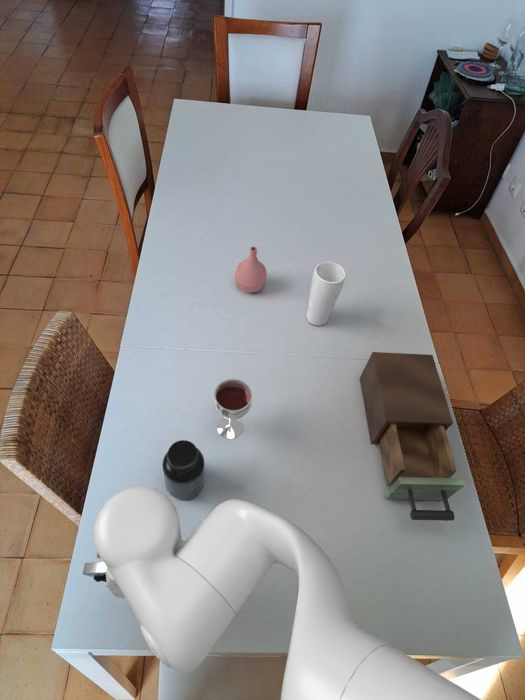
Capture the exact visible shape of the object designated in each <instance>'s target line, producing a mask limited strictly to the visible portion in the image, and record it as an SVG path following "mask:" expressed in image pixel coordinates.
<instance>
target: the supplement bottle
mask: <svg viewBox="0 0 525 700" xmlns="http://www.w3.org/2000/svg"><path fill="white" fill-rule="evenodd" d="M205 470H206V469H205V457H204V454H203V453H202V451H201V450H200V449H199V448H197V446H196V445H195V444H194V443H193V442H192V441H190V440H185V439H180V440H177V441H175V442H174V443H172V444H171V445H170V446H169V448H168V451H167V452H166V453H165V455H164V457H163V460H162V473H163V479H164V483H165V488H166V491H168V493H169V494H170V495H171V497H173V498H175V499H177V500H182V501H186V500H191V499H193V498H195V497H196V496H198V495H199V494H200V493H201V491H202V490H203V488H204V485H205V477H206V476H205V475H206V474H205V473H206V472H205Z"/></svg>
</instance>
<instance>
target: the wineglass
mask: <svg viewBox="0 0 525 700" xmlns="http://www.w3.org/2000/svg"><path fill="white" fill-rule="evenodd" d="M213 396H214V397H213V407H214V409H215V410H216V413H218V415H220V416H221V417H222V418H220V419H219V421H218V423H217V425H216V426H217V428H216V429H217V432H218V433H219V435H220V436H222V437H223V438H225V439H231V440H232V439H235V438H237V437H239V436H240V435H241V434H242V433H243V430H244V429H243V428H244V425H243V422H242V421H241V418H243V417H244V416H246V414H248V412H249V411H250V409H251V407H252V401H253V392H252V389H251V387H250V386H249V385H248V384H247V382H245V381H243V380H241V379H238V378H228V379H225V380H223V381H220V383H219V384H217V385H216V388H214V393H213Z"/></svg>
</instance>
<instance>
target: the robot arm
mask: <svg viewBox="0 0 525 700" xmlns="http://www.w3.org/2000/svg"><path fill="white" fill-rule="evenodd" d="M180 523H181V522H180V516H179V513H178V510H177V507H176V505H175V504H174V502H173V500H172V499H171V497H169V496H168V495H167V494H166V493H164V491H162V490H160V489H158V488H156V487H154V486H153V487H152V486H148V485H135V486H130V487H127V488H124V489H122V490H120V491H118V492H117V493H115V494H113V495H112V496H111V497H110V498H109V499H108V500H106V502H105V503H104V504H103V506H102V507H101V508H100V510H99V512H98V514H97V516H96V519H95V522H94V526H93V543H94V547H95V550H96V559H100V560H102V561H94V562H93V561H92V562H85V563H84V565H83V570H82V575H83V576H87V577H91V578H93V580H94V581H95V582H97V583H99V582H104V583H106V588H107V589H108V591H109V592H110V594H111V595H113V596H114V597H115V598H121V599H125V600H126V602H127V603H128V605H129V607H130V608H131V610H132V612H133V614H134V615H135V617H136V619H137V621H138V623H139V624H140V625H139V627H140V628H139V629H140V633H141V635H142V637H143V639H144V640H145V643H146V644H147V646H148V647H149V649H150V651H152V653H153V655H154V656H155V658H157V659H158V660H159V661H160V662H161V664H163V665H164V666H165V667H167V668H169V669H173V670H174V671H176V672H178V673H183V674H186V673H191V672H192V671H194V670H195V669H196V668H198V667H199V666H200V665H201V664H202V663H203V662H204V660H205V659H206V658H207V657H208V656H209V654H210V653H211V652H212V651H213V649H214V647H216V645H217V644H218V641H219V640H220V639H221V638H222V636H223V635H224V633H225V632H226V631H227V629H228V628H229V626H230V625H231V623H232V622H233V621H234V619H235V618H236V616H237V615H238V613H239V612H240V611H241V609H242V608H243V607H244V606H245V604H246V602H248V600H249V598H250V597H251V596H252V594H253V593H254V591H255V590H256V589H257V587H258V585H259V584H260V583H261V581H262V580H263V579H264V578H265V576H266V575H267V573H268V572H269V571H270V570H271V568H272V566H273V565H274V564H278V565H281V566H284V567H286V568H287V569H289V570H291V571H293V572H294V573H295V574H297V575H298V592H297V593H298V594H297V600H296V607H295V613H294V619H293V627H292V632H291V636H290V641H289V648H288V652H287V658H286V664H285V669H284V674H283V679H282V686H281V694H280V700H482V699H481V698H479V697H478V696H476V695H475V694H473V693H471V692H469V691H468V690H466V689H464V688H463V687H461V686H459V685H458V684H457V683H454V682H453V681H452V680H449V679H448V678H446V677H444V676H443V675H441V674H439V673H438V672H436V671H435V670H433V669H431V668H429V667H428V666H427V665H425V664H423V663H421V662H420V661H418V660H416V659H415V658H413V657H411V656H409V655H408V654H407V653H405V652H403V651H401V650H400V649H398V648H396V647H394V645H392V644H390V643H389V642H387V641H386V640H383V639H382V638H380V637H378V636H376V635H374V634H373V633H371V632H369V631H368V630H366V629H365V628H363V626H361V625H359V623H358V622H357V621H356V619H355V617H354V613H353V610H352V606H351V603H350V600H349V596H348V593H347V591H346V588H345V586H344V584H343V581H342V579H341V576H340V575H339V572H338V569H336V566H335V565H334V564H333V561H331V559H330V557H329V556H328V554H327V553H326V552H325V551H324V549H323V548H322V547H321V546H320V545H319V544H318V543H317V542H316V541H315V539H313V538H312V537H311V535H309V534H308V533H307V532H306V531H305V530H303V529H302V528H301V527H299V526H298V525H297V524H295V523H294V522H292V521H291V520H289V519H287V518H286V517H283V516H282V515H280V514H277V513H275V512H273V511H271V510H269V509H267V508H264V507H262V506H260V505H258V504H255V503H254V502H250V501H247V500H244V499H237V498H232V499H228V500H225V501H223V502H221V503H220V504H218V505H217V506H216V507H214V508H213V510H211V512H210V513H209V514H208V515H207V516H206V517H205V518H204V519H203V520H202V522H200V524H199V525H198V526H197V527H196V528H195V530H193V532H192V533H191V534H190V535H189V537H187V539H186V540H184V539H182V531H181V524H180Z"/></svg>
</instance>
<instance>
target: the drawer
mask: <svg viewBox="0 0 525 700" xmlns="http://www.w3.org/2000/svg"><path fill="white" fill-rule="evenodd" d="M379 442H380V444H379V447H380V452H381V457H382V463H383V468H384V474H385V479H386V483H387V485H386V486H390V487H388V489H387V490H386V491H385V492H384V495H385V496H384V497H385V500H395V501H396V500H397V501H398V500H399V501H409V504H410V508H411V510H410V512H409V513H410V514H409V515H410V520H412V521H446V522H447V521H449V522H450V521H451V522H452V521H455V518H456V517H455V511H453V510H451V507H450V503H449V499H450V498H451V497H452V496H454V495H455V494H456V493H457V492H459V491H460V490H461V489H463V488H464V487H465V486H466V481H465V478H462V477H452V476H453V475H454V474H455V473H457V472H458V470H457V467H456V463H455V460H454V456H453V452H452V449H451V446H450V443H449V438H448V436H447V431H446V432H445V428H444V425H428V424H397V423H389V424H388V426H387V427H386V429H385V430H384V432H383V433H382V435H381V436H380V438H379ZM415 501H443V505H444V509H445V510H443V509H440V510H438V509H417V507H416V502H415Z"/></svg>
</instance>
